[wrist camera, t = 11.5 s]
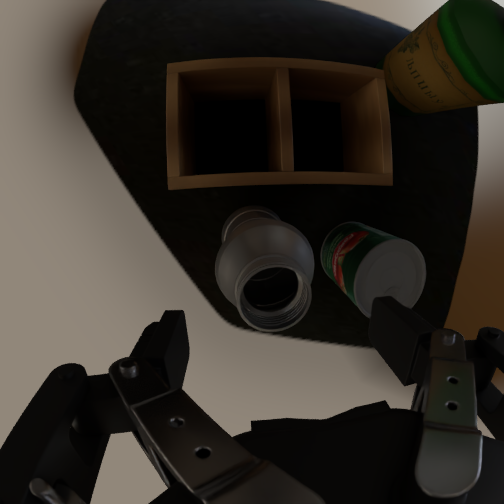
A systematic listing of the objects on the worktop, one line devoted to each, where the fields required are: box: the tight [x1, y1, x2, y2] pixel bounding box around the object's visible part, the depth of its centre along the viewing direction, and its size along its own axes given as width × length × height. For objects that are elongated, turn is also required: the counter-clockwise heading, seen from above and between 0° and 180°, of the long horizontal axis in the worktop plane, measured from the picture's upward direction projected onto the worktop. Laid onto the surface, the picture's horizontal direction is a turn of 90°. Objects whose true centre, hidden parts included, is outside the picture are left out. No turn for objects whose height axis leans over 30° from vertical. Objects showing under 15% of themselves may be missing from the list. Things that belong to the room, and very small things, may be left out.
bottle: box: [375, 0, 504, 116], centre depth 16 cm, size 11×11×28 cm
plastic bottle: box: [215, 205, 314, 332], centre depth 24 cm, size 6×7×20 cm
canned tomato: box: [321, 222, 426, 318], centre depth 29 cm, size 8×8×11 cm
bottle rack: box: [166, 57, 393, 190], centre depth 26 cm, size 11×19×10 cm, turn 92°
